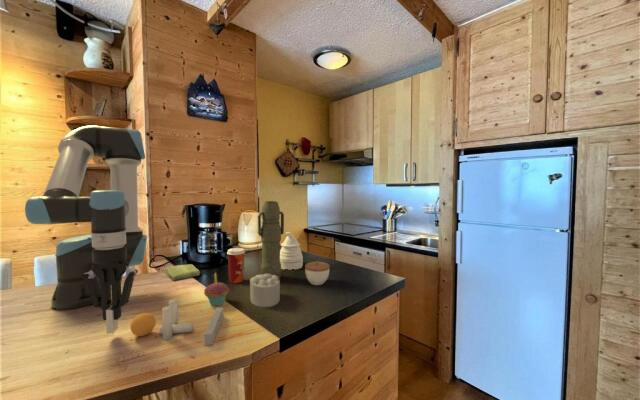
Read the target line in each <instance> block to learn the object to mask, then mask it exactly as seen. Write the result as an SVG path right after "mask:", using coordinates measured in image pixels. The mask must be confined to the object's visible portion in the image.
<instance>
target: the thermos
mask: <svg viewBox="0 0 640 400" xmlns="http://www.w3.org/2000/svg"><path fill="white" fill-rule="evenodd" d="M261 210H262V211H261V212H259V213H258V215H257V234H258V235H259V237H260V241H261V264H260V274H271V275H276V276H278V279H279V281H280V280H281V278H282V276H281V274H282V269H281V262H280V250H281V240H282V235H284V234H285V233H284V232H285V213H284V212H283V211H281V209H280V205H279V202H278V201H275V200H273V201H271V200H270V201H267V200H266V201H265V202H263V205H262V209H261Z"/></svg>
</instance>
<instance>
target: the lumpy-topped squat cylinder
mask: <svg viewBox="0 0 640 400" xmlns="http://www.w3.org/2000/svg"><path fill="white" fill-rule="evenodd" d="M249 287H250V288H249V292H250V293H249V294H250V296H249V297H250V298H249V299H250V302H251V304H252V305H255V306H256V307H261V308H270V307H274V306H276V305H278V304H279V302H280V300H281V281H280V280H279V279H278V276H276V275H271V274H261V273H259V274H256V275H255V276H253V277H251V278H250V279H249Z"/></svg>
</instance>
